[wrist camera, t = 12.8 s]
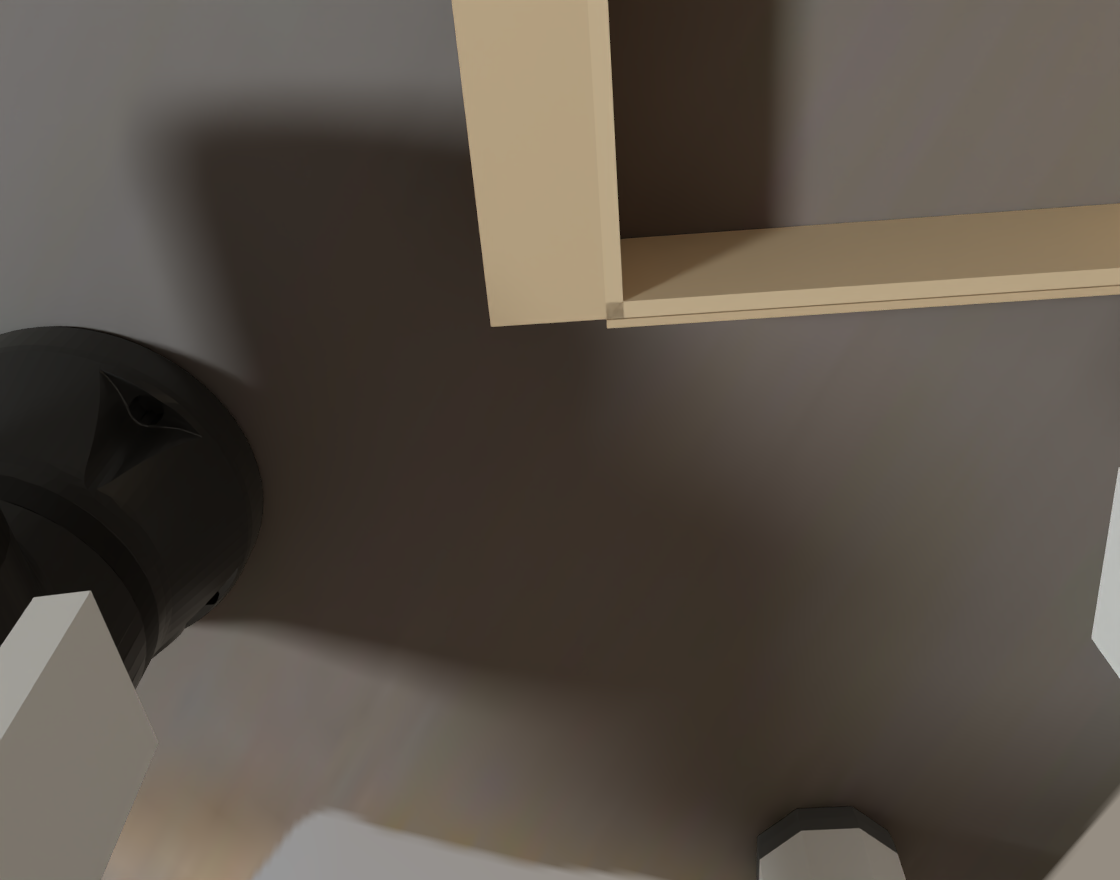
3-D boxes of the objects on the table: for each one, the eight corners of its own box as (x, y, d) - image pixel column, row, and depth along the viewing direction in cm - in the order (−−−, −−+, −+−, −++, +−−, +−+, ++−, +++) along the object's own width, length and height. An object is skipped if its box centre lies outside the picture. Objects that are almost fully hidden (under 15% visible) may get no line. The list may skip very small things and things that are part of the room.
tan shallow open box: (503, 270, 42) (492, 336, 36) (455, -157, 34) (432, -158, 29) (1250, 217, 40) (1361, 277, 35) (1369, -239, 33) (1534, -258, 27)
